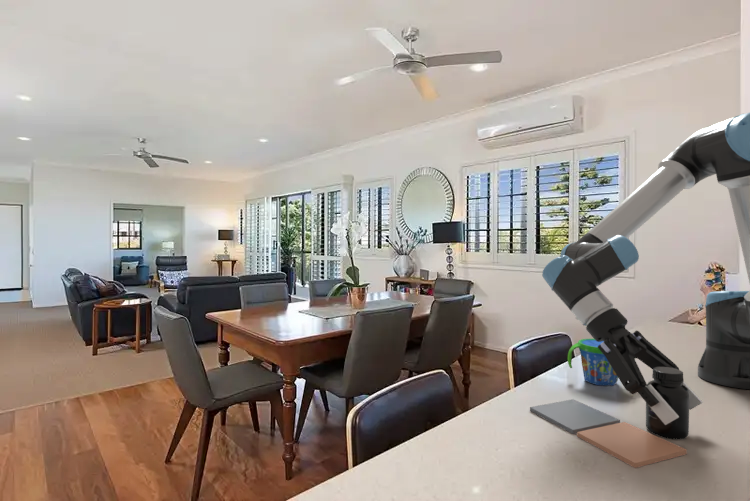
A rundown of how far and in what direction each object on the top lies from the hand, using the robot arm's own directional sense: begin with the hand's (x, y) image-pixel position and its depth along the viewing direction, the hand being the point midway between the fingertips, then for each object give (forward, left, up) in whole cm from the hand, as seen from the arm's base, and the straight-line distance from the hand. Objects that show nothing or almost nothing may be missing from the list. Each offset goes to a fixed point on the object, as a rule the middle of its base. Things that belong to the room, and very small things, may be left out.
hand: (685, 413), depth 79 cm
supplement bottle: (+1, -3, -5) cm, 6 cm away
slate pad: (+12, -15, -5) cm, 19 cm away
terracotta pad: (+12, -2, -5) cm, 13 cm away
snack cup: (-11, -29, -5) cm, 31 cm away
